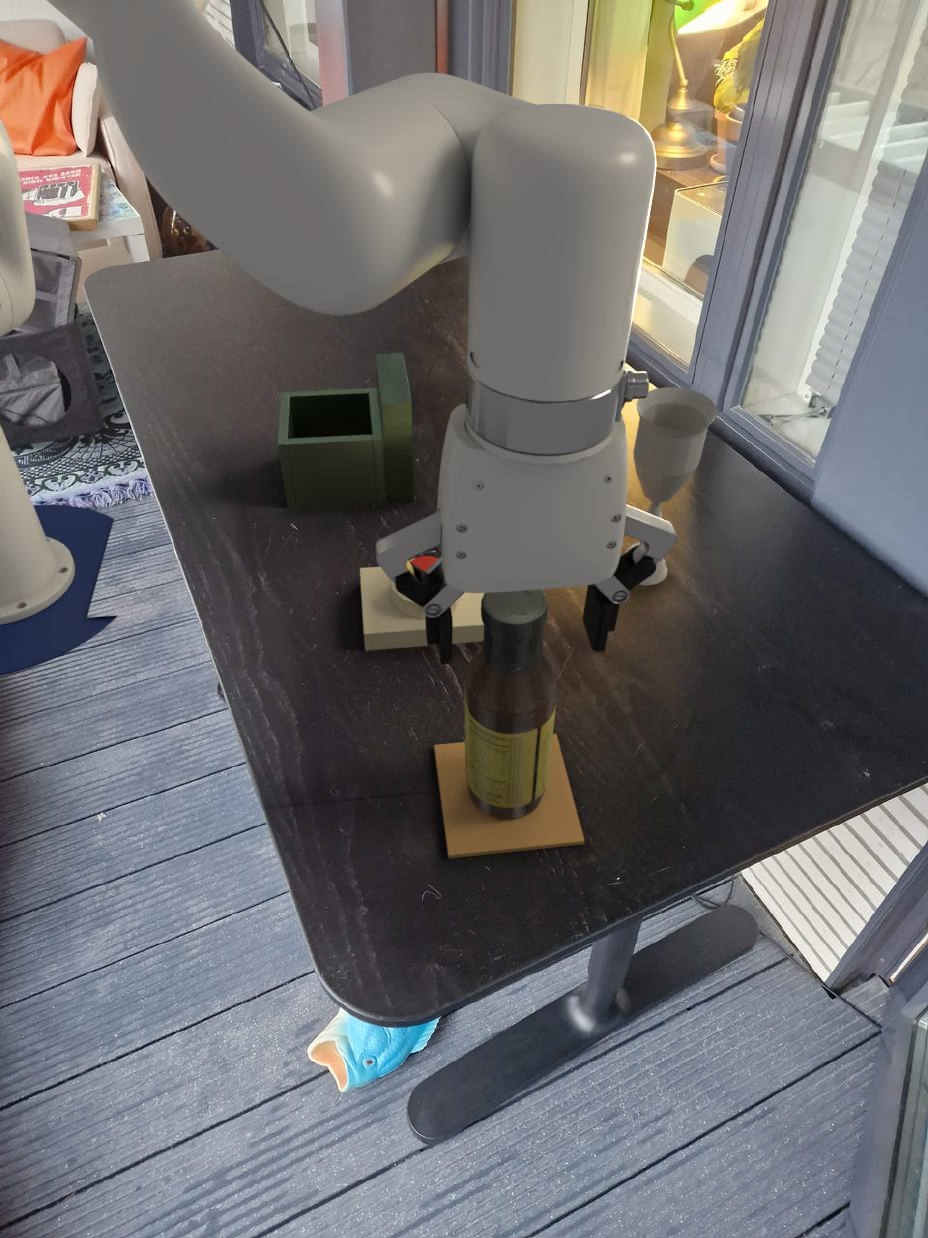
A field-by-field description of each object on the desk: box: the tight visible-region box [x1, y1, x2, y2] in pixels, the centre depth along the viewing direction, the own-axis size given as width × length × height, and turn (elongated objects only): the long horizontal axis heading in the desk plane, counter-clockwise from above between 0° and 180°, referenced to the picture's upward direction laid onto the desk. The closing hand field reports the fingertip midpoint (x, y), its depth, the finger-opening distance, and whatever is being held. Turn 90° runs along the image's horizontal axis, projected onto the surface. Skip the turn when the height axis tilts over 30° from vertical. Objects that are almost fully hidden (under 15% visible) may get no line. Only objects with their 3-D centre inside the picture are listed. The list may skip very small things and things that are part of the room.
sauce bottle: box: [463, 589, 558, 820], centre depth 58 cm, size 6×6×20 cm
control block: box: [359, 557, 484, 651], centre depth 78 cm, size 12×9×4 cm
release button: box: [410, 555, 439, 571], centre depth 77 cm, size 4×4×2 cm
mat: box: [433, 733, 585, 859], centre depth 65 cm, size 10×10×1 cm
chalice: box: [622, 386, 718, 586], centre depth 79 cm, size 7×7×18 cm
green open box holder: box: [277, 352, 415, 509], centre depth 91 cm, size 14×11×12 cm
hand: (518, 642), depth 54 cm, fingers open, 9 cm apart
